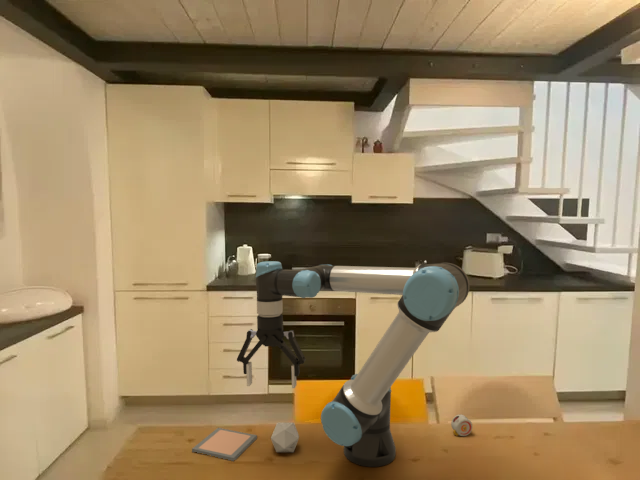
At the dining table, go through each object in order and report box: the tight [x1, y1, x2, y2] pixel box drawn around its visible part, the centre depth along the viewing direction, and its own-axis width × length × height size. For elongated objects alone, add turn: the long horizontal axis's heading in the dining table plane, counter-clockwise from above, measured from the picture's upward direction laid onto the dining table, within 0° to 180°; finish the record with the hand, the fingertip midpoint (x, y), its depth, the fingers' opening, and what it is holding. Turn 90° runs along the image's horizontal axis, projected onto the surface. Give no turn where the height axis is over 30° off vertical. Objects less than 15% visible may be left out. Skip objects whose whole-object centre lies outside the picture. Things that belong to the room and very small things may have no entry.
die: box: [270, 422, 300, 453], centre depth 137 cm, size 8×9×10 cm
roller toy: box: [450, 414, 473, 437], centre depth 147 cm, size 4×6×6 cm
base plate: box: [191, 427, 258, 462], centre depth 139 cm, size 14×14×1 cm
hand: (271, 385), depth 136 cm, fingers open, 13 cm apart
